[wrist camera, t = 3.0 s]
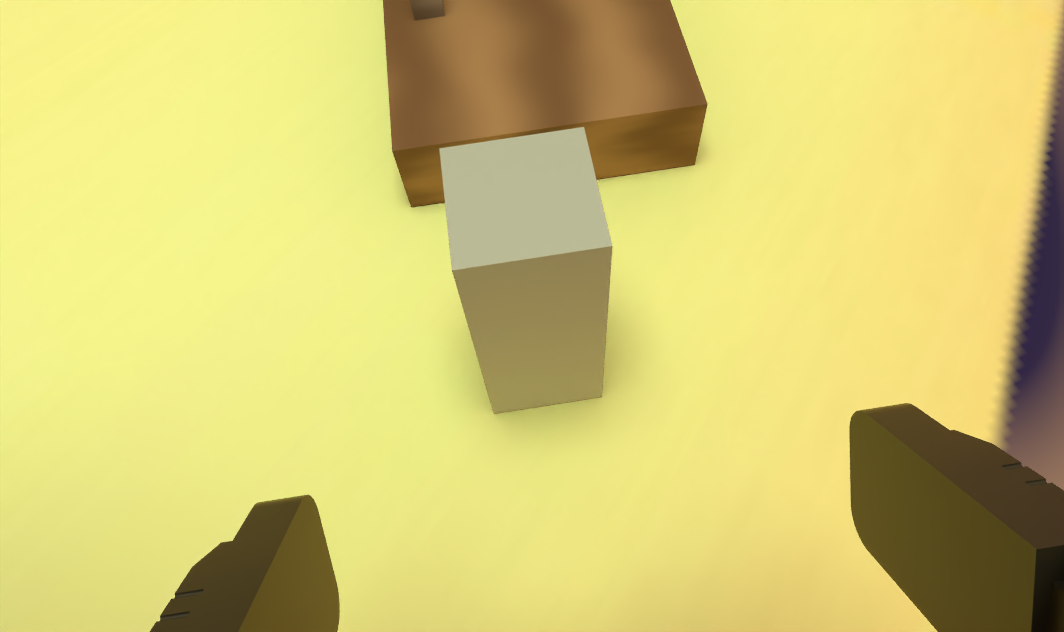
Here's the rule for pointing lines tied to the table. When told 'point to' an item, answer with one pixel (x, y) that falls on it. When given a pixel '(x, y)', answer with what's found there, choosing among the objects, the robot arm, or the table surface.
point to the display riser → (539, 82)
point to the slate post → (531, 264)
